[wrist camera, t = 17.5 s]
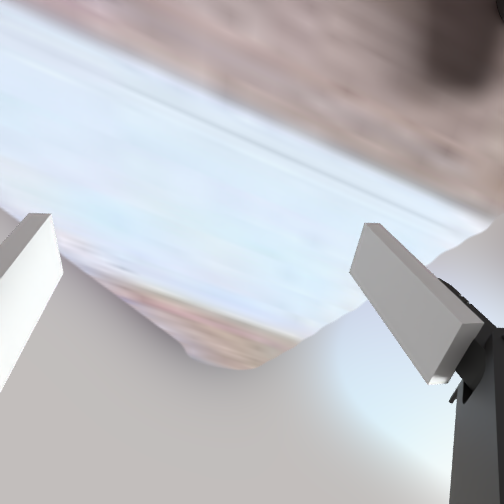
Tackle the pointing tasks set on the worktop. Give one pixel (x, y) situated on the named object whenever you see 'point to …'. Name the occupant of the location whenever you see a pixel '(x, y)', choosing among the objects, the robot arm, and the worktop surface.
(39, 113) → the worktop surface
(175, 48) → the worktop surface
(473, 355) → the robot arm
